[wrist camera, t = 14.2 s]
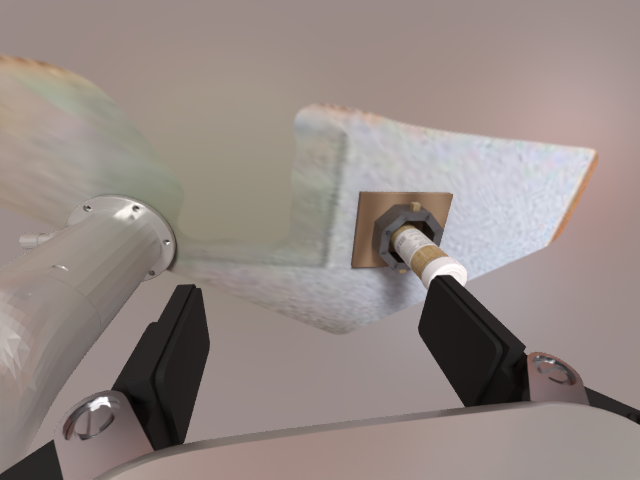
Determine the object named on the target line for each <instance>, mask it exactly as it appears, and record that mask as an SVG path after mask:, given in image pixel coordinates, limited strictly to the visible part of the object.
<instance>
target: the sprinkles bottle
mask: <svg viewBox="0 0 640 480" xmlns="http://www.w3.org/2000/svg"><path fill="white" fill-rule="evenodd" d="M389 244H390V245H391V246H393V248H394V249H395V250H396V252H397V253H398V254H399V255H400V257H401V258H402V259H403V260H404V262H405V263H406V264H407V265H408V266H409V267H410V269H411V270H413V271H414V273H415V274H416V275H417V276H418V277H419V278H420V279H421V281H422V283H423V285H424V287H425V288H426V289H427V290H428V289H429V285H430V282H431V280H432V279H434V277H435V276H436V275H451V276H453V277H454V278H455V279H456V280H457V281H458V282H459V283H460V284H461V285H462V286H463V287H464V285H465V283H466V280H467V272H466V270H465V268H464V267H463V266H462V265H461V264H460V263H459V262H457V261H456V260H455V259H453V258H451V257H449V256H448V255H447V254H445V253H444V252H443V251H442V250H441V249H440V248H439V247H438V246H437V245H436V244H434V243H433V242H432V241H431V240H430V239H429V238H427V237H426V236H425V235H424V234H423V233H422V232H420V231H419V230H417V229H416V228H415V227H414V226H413V224H412V223H410V222H409V221H406V222H405V223H403V224H402V225H401V226H400V227H399V228H397V229H396V230H395V231H394V232H392V233H391V235H390V241H389Z"/></svg>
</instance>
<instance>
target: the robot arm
mask: <svg viewBox="0 0 640 480" xmlns="http://www.w3.org/2000/svg"><path fill="white" fill-rule="evenodd" d="M137 206H138V207H139V208H138V207H137ZM168 240H169V241H168ZM19 243H20V246H21V247H22V248H23V249H32V250H30V251H28V252H26V253H25V254H23V255H21V256H20V257H18V258H16V259H15V260H13V261H11V262H10V263H8V264H6V265H4V266H3V267H1V268H0V480H640V411H639V410H637V409H635V408H632V407H630V406H628V405H625V404H623V403H621V402H618V401H616V400H614V399H612V398H609V397H607V396H605V395H603V394H600V393H598V392H596V391H594V390H591V389H589V388H587V387H585V386H584V385H583V381H582V379H581V377H580V376H579V374H578V373H577V372H576V371H575V370H574V369H573V368H572V367H571V366H570V365H568V364H567V363H565V362H564V361H562V360H561V359H559V358H557V357H554V356H552V355H549V354H546V353H542V352H533V353H530V354H529V355H528V356H527V355H526V354H525V353H524V350H525V348H526V346H525V345H524V344H523V343H522V342H521V341H520V340H519V339H518V338H517V337H515V336H514V335H513V334H512V333H511V332H510V331H509V330H508V329H507V328H506V327H505V326H504V325H503V324H502V323H501V322H500V321H499V320H498V319H497V318H496V317H495V316H493V315H492V314H491V313H490V312H489V311H488V310H487V309H486V308H485V307H484V306H483V305H482V304H481V303H480V302H479V301H478V300H477V299H476V298H475V297H474V296H473V295H472V294H470V292H468V291H467V290H466V289H465V288H464V287H463V286H462V285H461V284H460V283H459V282H458V281H457V280H456V279H455V278H454V277H453V276H451V275H436V276H435V277H434V279H432V280H431V282H430V285H429V289H428V293H427V296H426V300H425V304H424V308H423V311H422V315H421V319H420V322H419V326H418V330H419V334H420V336H421V338H422V339H423V341H424V343H425V344H426V346H427V347H428V349H429V351H430V352H431V354H432V355H433V357H434V358H435V360H436V362H437V363H438V365H439V366H440V368H441V369H442V371H443V373H444V374H445V376H446V377H447V379H448V380H449V382H450V384H451V385H452V387H453V388H454V390H455V392H456V393H457V395H458V396H459V398H460V400H461V401H462V403H463V404H464V406H465V407H464V408H455V409H447V410H438V411H429V412H421V413H412V414H403V415H395V416H386V417H379V418H370V419H362V420H354V421H346V422H338V423H329V424H321V425H313V426H305V427H297V428H289V429H281V430H273V431H265V432H258V433H251V434H243V435H237V436H229V437H223V438H216V439H209V440H202V441H197V442H192V443H187V444H183V443H184V441H185V437H186V434H187V430H188V427H189V423H190V419H191V416H192V412H193V408H194V404H195V401H196V397H197V393H198V390H199V386H200V382H201V378H202V375H203V371H204V368H205V364H206V360H207V356H208V353H209V348H210V341H209V334H208V327H207V322H206V315H205V309H204V303H203V297H202V291H201V288H196V286H195V285H194V284H188V285H178V286H177V287H176V289H175V291H174V292H173V294H172V296H171V298H170V300H169V302H168V304H167V305H166V307H165V309H164V311H163V313H162V314H161V316H160V318H159V320H158V322H152V323H150V324H149V325H148V327H147V328H146V330H145V332H144V333H143V335H142V337H141V339H140V340H139V342H138V344H137V346H136V347H135V349H134V351H133V353H132V354H131V356H130V358H129V359H128V361H127V363H126V364H125V366H124V368H123V370H122V371H121V373H120V375H119V377H118V378H117V380H116V382H115V384H114V385H113V387H112V389H111V390H109V391H108V390H107V391H102V392H99V393H95V394H93V395H91V396H89V397H86V398H84V399H83V400H81V401H80V402H78V403H77V404H75V405H74V406H73V407H72V408H71V409H70V410H69V411H67V412H66V413H65V415H64V416H63V417H62V418H61V420H60V421H59V422H58V424H57V426H56V429H55V431H54V439H53V440H52V441H50V442H49V443H47V444H45V445H44V446H43V447H41V448H39V449H38V450H36V451H35V452H33V453H32V454H30V455H29V456H27V457H25V456H26V454H27V452H28V450H29V448H30V446H31V444H32V442H33V440H34V438H35V436H36V434H37V432H38V430H39V428H40V426H41V424H42V422H43V420H44V417H45V416H46V414H47V412H48V410H49V408H50V406H51V405H52V403H53V402H54V400H55V398H56V396H57V395H58V393H59V392H60V390H61V389H62V387H63V386H64V384H65V383H66V381H67V380H68V378H69V377H70V375H71V374H72V373H73V371H74V370H75V369H76V367H77V366H78V364H79V363H80V362H81V360H82V359H83V358H84V356H85V355H86V354H87V352H88V351H89V350H90V348H91V347H92V346H93V344H94V343H95V342H96V341H97V339H98V338H99V337H100V335H101V334H102V333H103V332H104V330H105V329H106V328H107V326H108V325H109V324H110V322H111V321H112V320H113V318H114V317H115V316H116V315H117V313H118V312H119V311H120V309H121V308H122V307H123V305H124V304H125V303H126V301H127V300H128V299H129V297H130V296H131V295H132V293H133V292H134V291H135V290H136V288H137V287H138V286H139V284H140V283H141V282H143V281H146V280H150V279H152V278H154V277H156V276H158V275H160V274H161V273H162V272H164V271H165V269H166V268H167V267H168V266H169V264H170V263H171V261H172V260H173V257H174V254H175V247H176V244H175V237H174V234H173V232H172V229H171V228H170V226H169V224H168V223H167V221H166V220H165V219H164V218H163V217H162V215H161V214H159V213H158V212H157V211H156V210H155V209H153V208H152V207H150V206H149V205H147V204H145V203H144V202H141V201H139V200H136V199H134V198H130V197H126V196H121V195H103V196H98V197H95V198H92V199H90V200H88V201H85V202H84V203H82V204H81V205H79V206H78V207H76V208H75V210H74V211H73V212H72V213H71V214H70V216H69V218H68V221H67V225H66V228H65V229H63V230H62V231H54V232H52V233H51V234H43V233H29V234H28V233H27V234H26V233H25V234H23V235H22V236H21V237H20V242H19Z"/></svg>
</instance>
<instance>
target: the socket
mask: <svg viewBox="0 0 640 480" xmlns="http://www.w3.org/2000/svg"><path fill="white" fill-rule="evenodd" d="M406 221H421V222H422V223H423V227H422V231H421V232H422V233H423V234H424V235H425V236H426V237H427V238H429V239H430V240H431V241H432V242H433V243H434V244H436V245H437V246H438V247H439V246H440V242H441V238H442V235H443V231H444V230H443V228H442V227H441V226H440V224H439V223H438V222H437V220H436V219H435V218H434V216H433V215H432V214H431V212H429V211H428V210H426V209H425V208H423V207H422V206H421V204H420V203H418V202H411V204H394V205H393V206H392V207H391V208H390V209H388V210H387V211H386V212H385V213H384V214H382V215H381V216H380V217H379V218H378V219H377V220H375V222H374V229H373V236H372V243H371V244H372V245H373V247H374V248H375V250H376V251H377V253H378V254H379V255H380V256H381V257H382V258H383V260H384V261H385V262H386V263H387V264H388V265H389V266H390V267H391V268H392V269H393V270H398V272H399V273H406V270H410V267H409V266H408V265H407V264H406V263H405V262H404V260H403V259H402V258H401V257H400V255H399V254H398V253H397V252H396V251H395V252H389V251H388V246H389V241H390V235H391V233H392V232H394V231H395V230H396V229H397V228H399V227H400V226H401V225H402V224H403V223H405V222H406Z"/></svg>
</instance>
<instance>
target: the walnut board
mask: <svg viewBox="0 0 640 480" xmlns="http://www.w3.org/2000/svg"><path fill="white" fill-rule="evenodd" d="M452 198H453V194H451V193H428V192H360V193H359V202H358V210H357V219H356V227H355V236H354V244H353V253H352V261H351V265H352V267H383V266H389V265H388V264H387V263H386V262H385V261H384V260H383V258H382V257H381V256H380V255H379V254H378V253H377V251H376V250H375V248H374V247H373V245H372V244H371V243H372V236H373V229H374V222H375V220H377V219H378V218H379V217H380V216H381V215H382V214H384V213H385V212H386V211H387V210H388V209H390V208H391V207H392V206H393V205H394V204H411V202H418V203H420V204H421V206H422V207H423V208H425V209H426V210H428V211H429V212H431V214H432V215H433V216H434V218H435V219H436V220H437V222H438V223H439V224H440V226H441V227H442V228H443V230H444V227H445V224H446V220H447V216H448V212H449V209H450V205H451V201H452ZM409 222H410V223H412V224H413V226H414V227H415V228H416V229H417V230H419V231H420V232H421V231H422V227H423V223H422V222H421V221H409ZM388 251H389V252H395V251H396V250H395V249H394V248H393V246H391V245H390V244H389V246H388Z"/></svg>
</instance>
